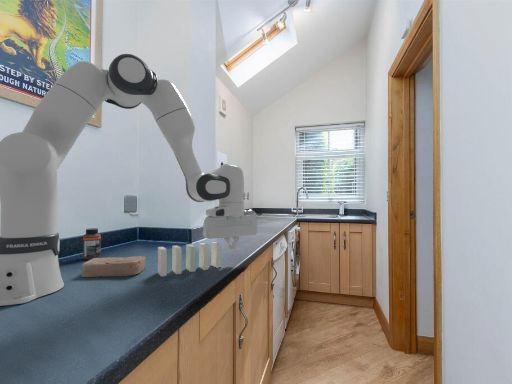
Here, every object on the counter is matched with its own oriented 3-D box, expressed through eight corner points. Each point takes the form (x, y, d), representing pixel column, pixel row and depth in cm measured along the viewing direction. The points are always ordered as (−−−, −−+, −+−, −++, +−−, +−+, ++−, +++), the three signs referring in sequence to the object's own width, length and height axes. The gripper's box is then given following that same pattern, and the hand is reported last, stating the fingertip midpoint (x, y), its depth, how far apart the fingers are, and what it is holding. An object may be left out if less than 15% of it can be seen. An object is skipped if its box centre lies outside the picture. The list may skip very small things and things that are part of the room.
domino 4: (216, 268, 91) (216, 244, 91) (211, 265, 95) (211, 242, 95) (221, 267, 92) (221, 243, 92) (215, 264, 96) (215, 241, 96)
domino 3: (203, 270, 89) (204, 245, 89) (198, 266, 93) (199, 243, 93) (208, 269, 89) (208, 245, 90) (203, 266, 93) (203, 242, 93)
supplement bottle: (86, 256, 107) (86, 227, 107) (103, 255, 108) (103, 227, 109) (79, 260, 101) (80, 229, 101) (97, 259, 103) (97, 229, 103)
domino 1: (161, 276, 81) (161, 249, 82) (157, 272, 85) (157, 247, 85) (166, 275, 82) (166, 249, 82) (162, 272, 86) (163, 246, 86)
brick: (79, 278, 81) (80, 262, 81) (94, 270, 89) (94, 256, 89) (137, 277, 82) (137, 261, 82) (146, 269, 90) (146, 255, 90)
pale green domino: (190, 272, 86) (190, 246, 86) (185, 268, 90) (186, 244, 90) (195, 271, 87) (195, 246, 87) (190, 268, 91) (190, 244, 91)
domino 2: (176, 274, 84) (176, 248, 84) (172, 270, 88) (172, 245, 88) (181, 273, 85) (181, 247, 85) (177, 270, 89) (177, 245, 89)
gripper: (251, 209, 105) (251, 245, 105) (201, 210, 94) (200, 250, 94) (260, 210, 100) (260, 248, 99) (208, 211, 89) (207, 254, 88)
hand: (231, 249), depth 96 cm, fingers closed
